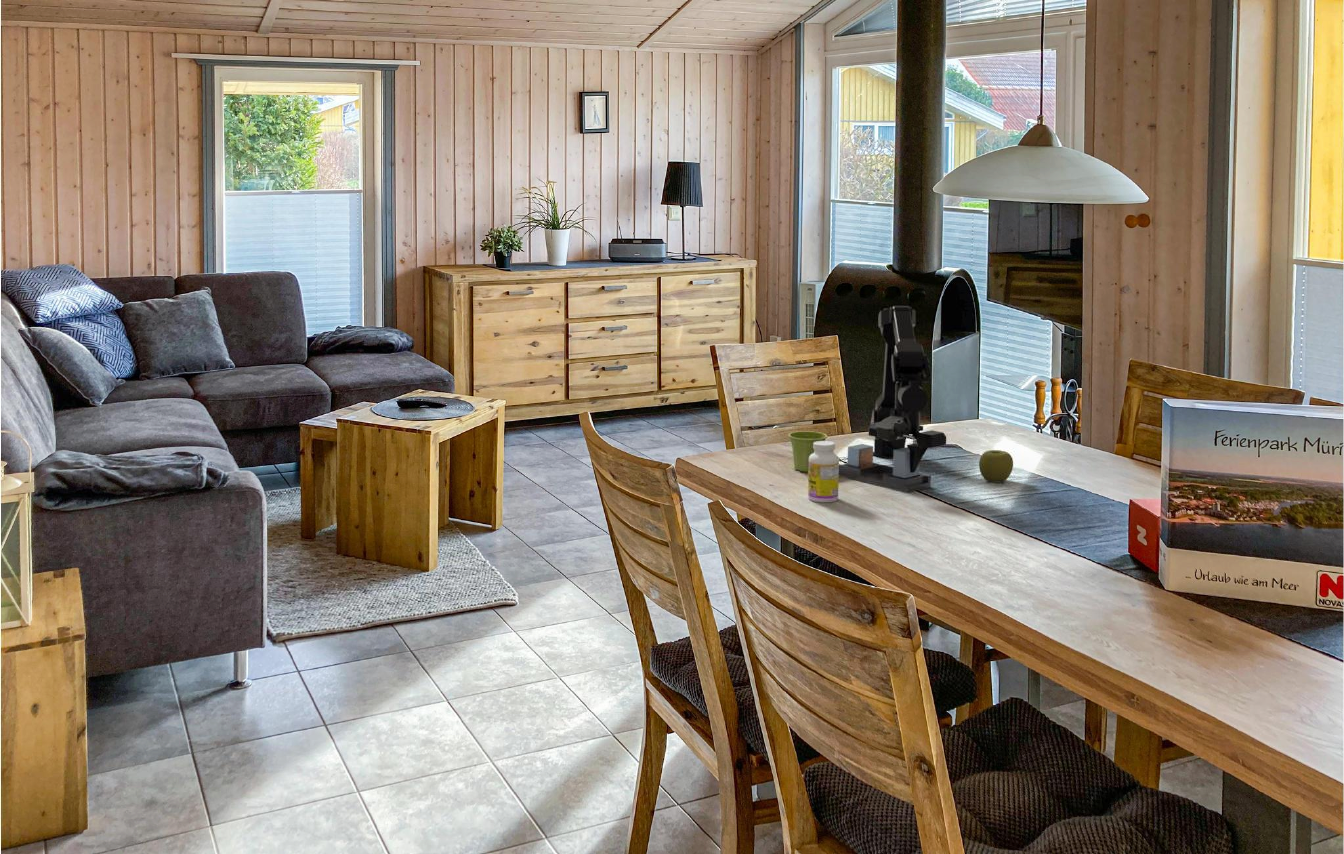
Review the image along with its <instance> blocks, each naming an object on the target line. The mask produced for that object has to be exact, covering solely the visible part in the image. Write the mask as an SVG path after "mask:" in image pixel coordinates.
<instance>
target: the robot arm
mask: <svg viewBox="0 0 1344 854" xmlns="http://www.w3.org/2000/svg"><path fill="white" fill-rule="evenodd" d="M877 318H878V319H877V320H878V321H877V323H878V324H877V325H878V328H880V333H881V336H882V338H883V341H884V342H885V350H884V351H885V352H884V365H883V383H882V393H880V395H879V396H878V398H877V399H876V400H875V407H874V409H872V413H871V418H870V419H871V420H870V425H869V427H868V436H869V437H873V438H874V442H873V443H874V445H873V456H876V457H881V458H886V459H893V456H894V450H896V449H901V448H906V447H908V448H909V450H910V472H911V473H913V472H915V470H916V468H917V466H918V465H919V466H920V462H921V460H922V458H923V457H924V455H925V454H926V452H927V450H928V449H929V448H930V449H933V448H937V447H941V446H946V445H947V435H946V434H945V432H943V431H936V430H927V431H924V426H923V425H920V424H921V414H924V413H925V408H926V406H927V404H928V401H929V400H928V399H929V398H928V395H927V392H926V391H925V390H924V389H923V387H922V383H925V382H926V383H929V382H930V381H929V379H930V378H931V367H930V360H929V358H928V355H927V354H925V351H924V348H923V345H922V344H920V343H919V342H917V341H916V337H915V331H914V327H915V326H916V310H915V309H913V308H912V307H911V306H909V305H893V306H890V307H888V308H883V309H882V310H880V311H879V313H878V317H877ZM907 439H909V440H912V443H909V444H906V443H907V442H906V441H907Z"/></svg>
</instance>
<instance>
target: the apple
mask: <svg viewBox="0 0 1344 854" xmlns="http://www.w3.org/2000/svg"><path fill="white" fill-rule="evenodd" d="M1013 459H1014V458H1013V457H1012V455H1011V454H1010V453H1009V452H1007V451H1005V450H998V449H997V450H996V449H995V450H994V449H991V450H987V451H985V452H983V453H982V455H980V458H979V460H978V461H979V462H978V467H979V472H980V475H981V476H982V478H983V479H984V481H987V482H989V483H1001V482H1005V481H1006V480H1008V479H1009V477H1010V476H1011V474H1012V471H1013V468H1014V460H1013Z"/></svg>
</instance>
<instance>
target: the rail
mask: <svg viewBox="0 0 1344 854" xmlns="http://www.w3.org/2000/svg"><path fill="white" fill-rule="evenodd" d="M873 452H874V445H869V444H865V443H860V444H855V445H851V446H848V447H847V462H846V463H843V464H841V463H839V477H843V478H846V479H850V480H854V481H858V482H859V481H860V482H862V483H866V484H871V485H874V486H878V485H879V487H884V488H888V489H891V490H895V491H900V492H903V493H912V492H916V491H921V490H924V489H928V488H931V486H932V485H931V483H932V475H930V474H925V473H921V472H919V475H916V476H912V477H908V478H902V477H897V476H893V466H889V465H886V464H881V463H877V462H874V455H873Z"/></svg>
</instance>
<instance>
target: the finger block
mask: <svg viewBox="0 0 1344 854" xmlns="http://www.w3.org/2000/svg"><path fill="white" fill-rule="evenodd" d="M892 459H893V460H892V461H893V462H892V463H893V464H892V467H893V476H897V477H902V478H908V477H912V476H916V475H919V473H920V464H919V465H918V466H917V468H916V470H915V472H913V473H911V472H910V450H909V448H908V447H907V446H905V448H901V449H896V450H894V456H893V458H892Z"/></svg>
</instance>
